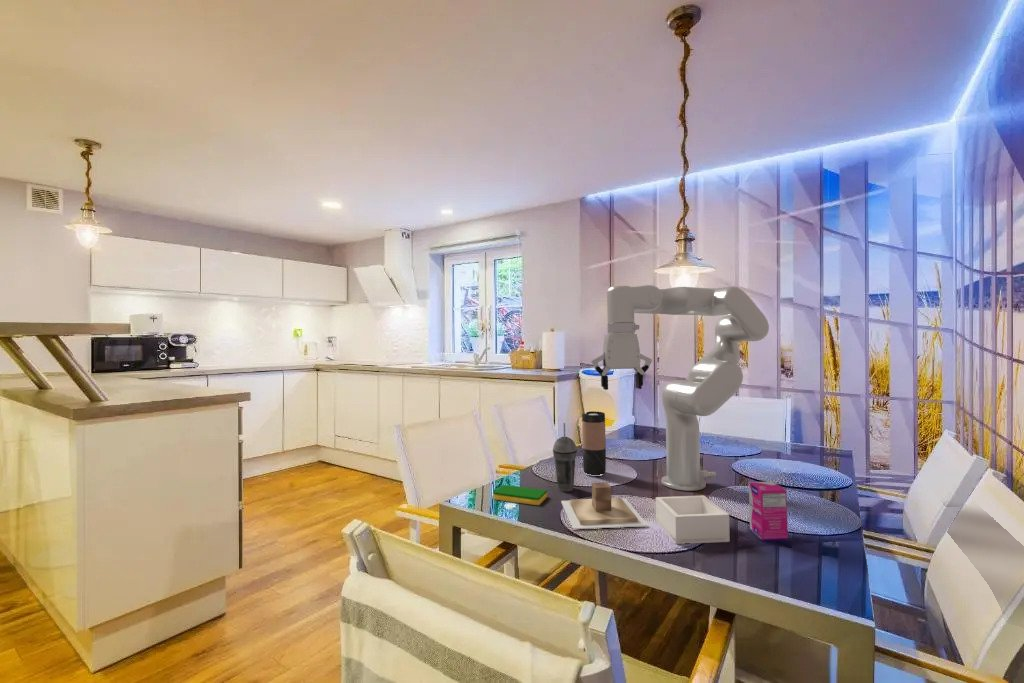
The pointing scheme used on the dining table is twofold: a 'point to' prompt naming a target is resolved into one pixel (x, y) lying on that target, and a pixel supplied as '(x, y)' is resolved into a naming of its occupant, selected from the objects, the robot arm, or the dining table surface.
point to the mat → (577, 525)
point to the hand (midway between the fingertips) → (622, 388)
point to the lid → (602, 507)
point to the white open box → (692, 519)
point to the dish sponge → (520, 494)
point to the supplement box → (768, 511)
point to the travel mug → (594, 443)
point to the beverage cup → (565, 462)
